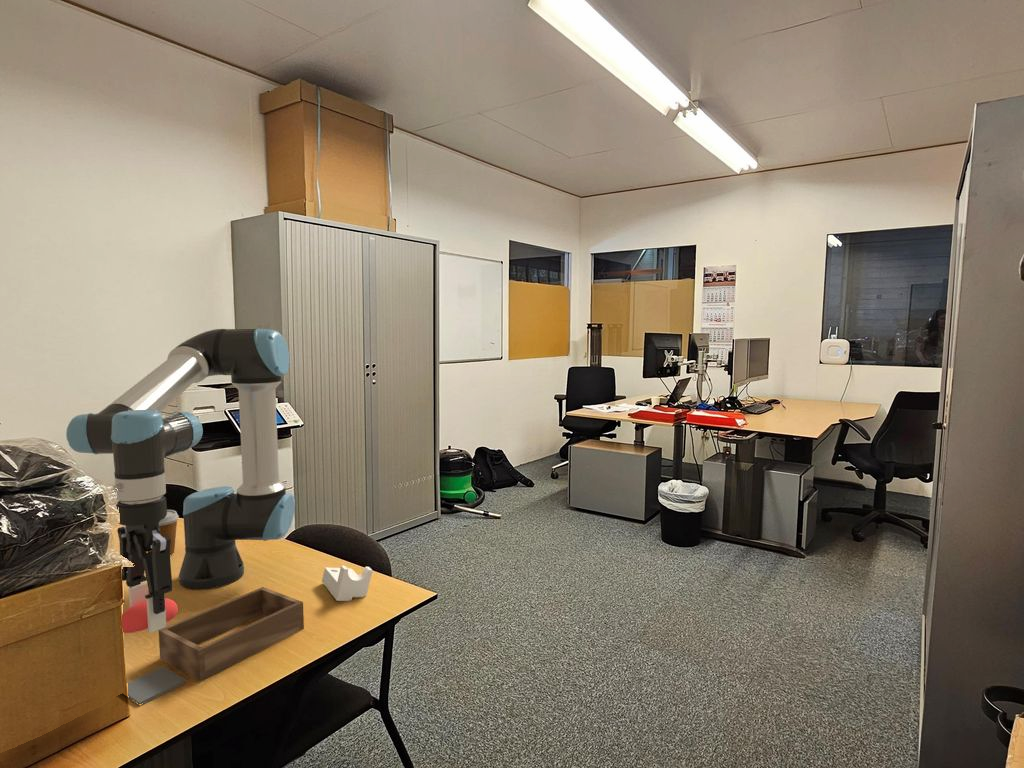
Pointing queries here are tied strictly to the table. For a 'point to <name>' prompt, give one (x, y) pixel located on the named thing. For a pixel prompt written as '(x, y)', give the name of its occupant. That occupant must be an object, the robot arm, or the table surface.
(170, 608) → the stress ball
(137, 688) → the slate mat
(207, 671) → the walnut box
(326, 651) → the table surface
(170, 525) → the disposable coffee cup
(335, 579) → the bracket
